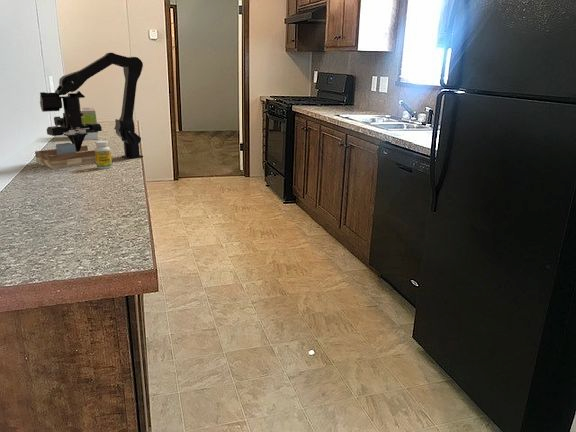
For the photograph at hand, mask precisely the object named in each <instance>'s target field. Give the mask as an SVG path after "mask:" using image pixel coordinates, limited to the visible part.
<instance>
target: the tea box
mask: <svg viewBox="0 0 576 432" xmlns="http://www.w3.org/2000/svg"><path fill="white" fill-rule="evenodd" d="M80 109H81V113H83V116H82V124H84V126H85V124H86V123H98V121H97V114H96V110H95V108H94V107H80ZM86 133H88V135H86V136H85V138H84V140H83V141H92V140H91V139H97V140H99V139H100V138H99V131H97V132H94V131H93V130H86Z"/></svg>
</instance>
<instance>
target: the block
mask: <svg viewBox="0 0 576 432" xmlns="http://www.w3.org/2000/svg"><path fill="white" fill-rule="evenodd" d="M55 149H56V150H57V155H61V154H69V153H76V149H75V144H72V142H66V143H65V142H64V143H56V144H55Z"/></svg>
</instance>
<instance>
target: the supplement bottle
mask: <svg viewBox="0 0 576 432" xmlns="http://www.w3.org/2000/svg"><path fill="white" fill-rule="evenodd" d="M108 145H109V143H108V140H100V141H99V140H98V141H97V140H96V141H95V146H96V147H95V148H94V150H95V156H96V162H95V163H96V168H97V169H98V170H104V169H105V170H107V169H111V168H113V162H112V161H113V160H112V152H111V151H112V150H111V147H109V146H108Z"/></svg>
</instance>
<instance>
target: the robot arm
mask: <svg viewBox="0 0 576 432" xmlns="http://www.w3.org/2000/svg"><path fill="white" fill-rule="evenodd" d="M143 63H144V62H143V61H142V60H141V59H140V57H137V56H125V55H121V54H117V53H115V52H106V53H105V54H104V55H103V56H101V57H99V58H98V59H96V60H95V61H93V62H91V63H90V64H88V65H86V66H84V67H83V68H81V69H79V70H76V71H73V72H70V73H67V74H65V75H63V76H61V77H60V78H59V81H58V86H57V88H56V89H55V91H54V92H42V91H41V92H39V95H40V96H39V99H40V100H39V105H40V109H41V112H43V113H44V112H59V111H60V110H61V109H63V113H62V117H61V116H54V117H53V122H54V125H55V126H48V127H47V128H46V134H47V135H49V136H53V137H56V136H65V137H67V138H68V139H69V140H70V143H72V144H75V149H76V151H77V152H79V151H80V148H81V146H83V142H84V141H85V140H84V138H85V136H86V135H88V133H86V130H93V131H94V132H97V131H98V132H102V131H103V130H102V125H101V124H100V123H98V122H97V123H86V124H85V126H84V124H82V116H83V113H81V109H80V108H81V104H80V103H81V102H80V99H82V98H83V99H85V97H86V96H85V95H84V94H83V93H82V92H81V91H80V90H79V89H80V87H82V86H83V85H84V84H85V83H86V82H87V81H88V80H89V79H90V78H92V77H93V76H95V75H97V74H98V73H100V72H102V71H104V70H105V69H106V68H108V67H110V66H112V65H115V66H118V67H121V68H123V75H124V89H123V95H122V96H123V97H122V106H121V114H120V117H119V118H118V119H117V118H115V120H114V121H115V123H114V124H115V126H114V128H113V129H114V130H115V134H116V135H117V136H118V137H119V138H120V140H121V141H122V142H123V150H124V155H121V158H125V159H128V160H131V159H137V158H144V155H142V154H140V153H141V152H140V144H141V141H142V137H141V136H140V135H138V134H137V132H135V131H136V130H135V122H134V111H135V108H134V107H135V101H136V92H137V84H138V80H139V78H140V77H141V74H142V71H143V67H144V64H143ZM73 92H75V93H73Z"/></svg>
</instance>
